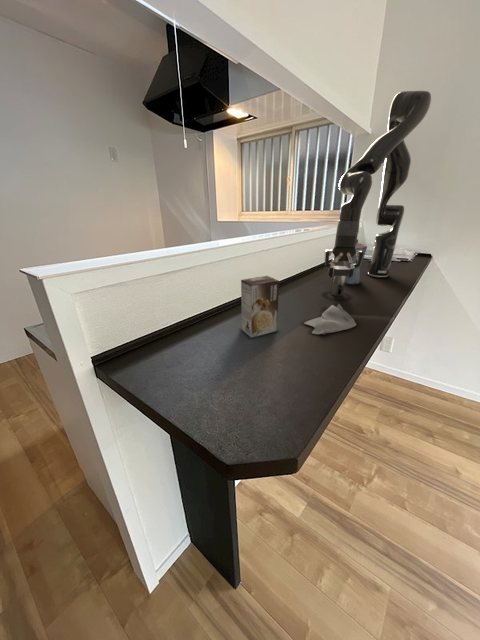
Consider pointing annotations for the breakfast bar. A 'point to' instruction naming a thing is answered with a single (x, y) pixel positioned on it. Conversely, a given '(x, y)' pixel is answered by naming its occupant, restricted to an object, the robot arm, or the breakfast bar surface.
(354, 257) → the moka pot
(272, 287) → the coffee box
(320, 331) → the cloth
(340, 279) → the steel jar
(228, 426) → the breakfast bar surface
